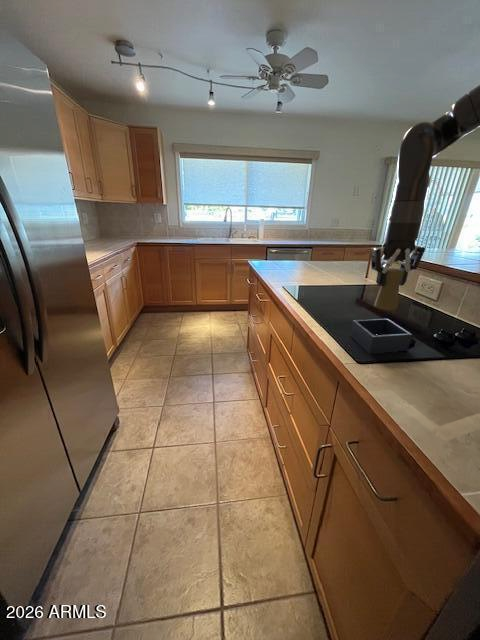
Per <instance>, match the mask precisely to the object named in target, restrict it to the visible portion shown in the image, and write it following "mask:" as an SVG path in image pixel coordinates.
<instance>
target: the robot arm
mask: <svg viewBox="0 0 480 640" xmlns="http://www.w3.org/2000/svg"><path fill="white" fill-rule="evenodd" d="M479 128H480V84H478V85H477V86H476V87H474V88H473V89H470V90H469V91H468V92H467V93H465V94H464V95H463V96H461V97H460V98H459V99H457V100H456V101H455V102H454V103H453V104H452V105H451V107H450V108H449V110H448V111H446V112H445V113H444V114H442V115H440V117H438V118H437V119H435V120H434V121H433V122H428V121H422V122H418V123H416V124H414V125H412V126H411V127H410V128H409V129H408V130H407V131H406V132H405V134H404V135H403V136H402V137H403V138H402V139H401V141H400V145H399V150H398V157H397V170H396V183H395V187H394V190H393V196H392V202H391V204H390V208H389V211H388V217H387V222H386V227H385V231H384V242H383V244H382V246H380V247H372V248H371V249H370V260H371V265H370V266H371V269H372V270H374V271H375V272H377V275H376V280H375V283H376V285H377V286H379V287H381V286H384V284H385V279H386V274H387V273H386V272H387V270H388V268H390V267H391V266H392V265H393V264H394V262H397V263H398V264H399V269H400V270H402V271H403V278H402V280H401V281H400V282H399V287H402V286H404V285H405V284H406V282H407V280H408V276H409V273H410V272H411V271H413V270H414V271H415V270H417V269H418V267H419V265H420V262H421V260H422V258H423V256H424V253H425V251H426V247H424V246H419V245H416V241H417V240H418V238H419V234H420V230H421V226H422V221H423V218H424V215H425V214H424V213H425V206H426V199H427V196H428V192H429V187H430V182H431V177H430V170H431V166H432V162H433V158H435V157H436V156H437V155H439V154H440V153H442V152H443V151H445V150H447V149H448V148H449V147H450V146H452V145H454V144H455V143H456V142H458V141H459V140H460V139H462V138H463V137H464V136H466V135H468V134H470V133H471V132H473V131H475V130H477V129H479Z"/></svg>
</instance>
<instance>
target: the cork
mask: <svg viewBox="0 0 480 640" xmlns="http://www.w3.org/2000/svg"><path fill="white" fill-rule="evenodd" d="M386 273H387V274H386V279H385V284H384V286H379V290H378V292H377V295H376V299H375V302H374V303H373V304H374V305H373V306H374V307H375V308H377V309H380V310H383V311H396V310H398V308H399V307H398V306H399V294H400V285H399V282H400V281H401V280H402V278H403V271H402V270H400V268H395V267H389V268H388V270H387V272H386Z"/></svg>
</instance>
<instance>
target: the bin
mask: <svg viewBox="0 0 480 640" xmlns="http://www.w3.org/2000/svg"><path fill="white" fill-rule="evenodd" d="M350 329H351V330H350V335H349V336H350V337H351V339H353V340H354V341H355V342H356V343H357V344H358V345H359V346H360V347H361V348H363V350H365V351H366V352H367V354H368V355H377V354H378V355H379V353H380V354H386V353H385V352H394V353H399V352H398V351H409V348H410V344H411V340H412V338H413V337H412V336H413V334H412V333H411V332H409V331H408V330H406V329H404V328H403V327H401V326H400V325H398V324H397V323H395V322H394V321H392V320H390V319H389V318H387V317H386V318H372V319H369V318H368V319H355V320H354V319H353V320H352V322H351V328H350ZM378 333H382V334H383V335H376V334H378ZM374 335H376V336H374Z"/></svg>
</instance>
